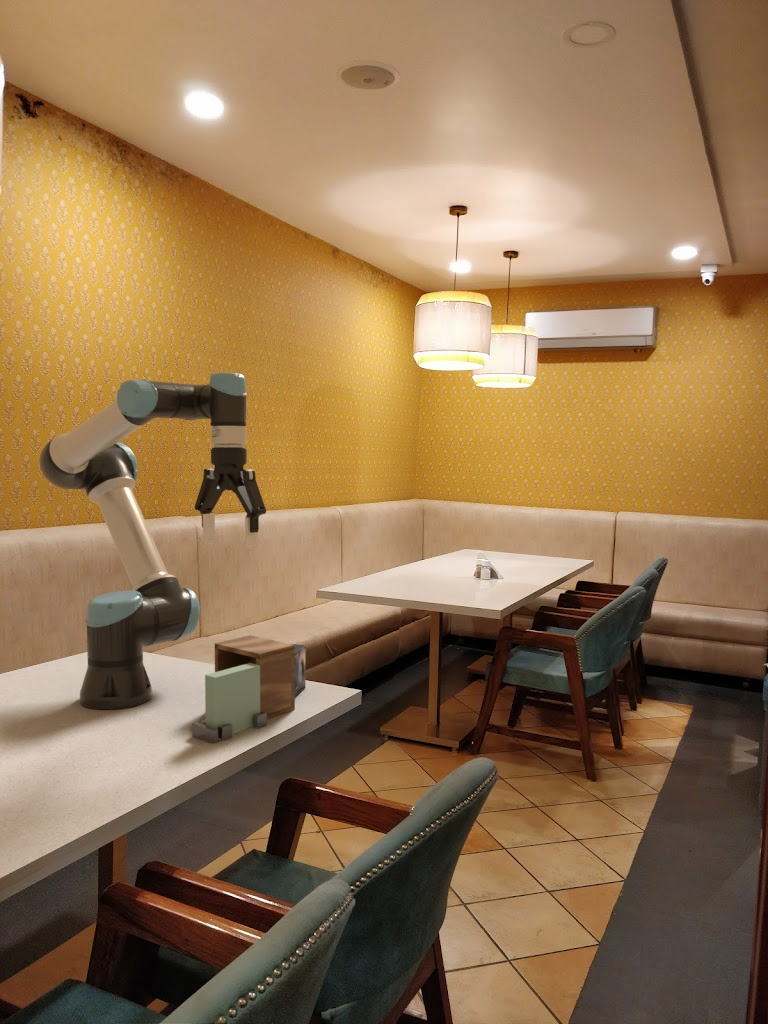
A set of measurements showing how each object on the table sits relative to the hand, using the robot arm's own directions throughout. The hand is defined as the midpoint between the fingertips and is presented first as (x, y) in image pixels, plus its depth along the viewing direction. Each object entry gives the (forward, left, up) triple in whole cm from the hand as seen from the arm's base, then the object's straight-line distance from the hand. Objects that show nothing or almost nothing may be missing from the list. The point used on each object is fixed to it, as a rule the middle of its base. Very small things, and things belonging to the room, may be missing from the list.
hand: (229, 545), depth 175 cm
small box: (+4, +13, -35) cm, 38 cm away
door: (+13, -11, -35) cm, 39 cm away
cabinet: (+6, +1, -35) cm, 35 cm away
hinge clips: (+13, -12, -35) cm, 39 cm away
